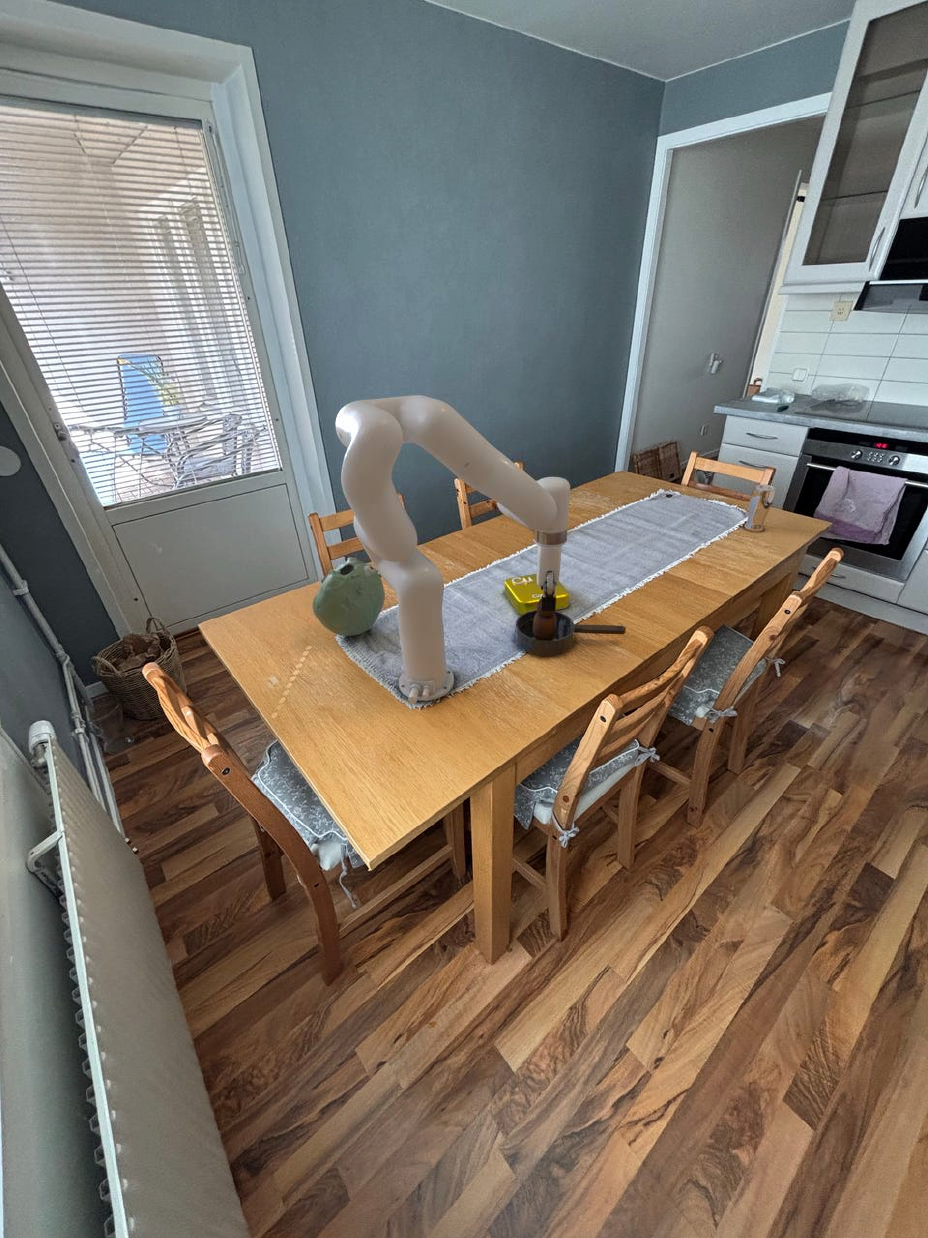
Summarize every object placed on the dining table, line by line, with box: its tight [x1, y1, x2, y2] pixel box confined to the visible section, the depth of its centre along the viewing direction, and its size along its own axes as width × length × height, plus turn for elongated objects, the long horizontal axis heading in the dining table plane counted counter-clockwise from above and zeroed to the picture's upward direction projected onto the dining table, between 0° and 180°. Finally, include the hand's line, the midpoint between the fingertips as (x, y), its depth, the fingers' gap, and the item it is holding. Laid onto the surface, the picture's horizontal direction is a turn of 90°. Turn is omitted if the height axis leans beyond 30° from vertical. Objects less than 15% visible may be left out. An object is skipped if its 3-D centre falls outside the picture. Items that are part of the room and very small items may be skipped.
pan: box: [514, 610, 575, 657], centre depth 127 cm, size 15×15×4 cm
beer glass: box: [743, 484, 777, 532], centre depth 177 cm, size 7×7×15 cm
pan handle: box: [574, 623, 627, 635], centre depth 125 cm, size 2×13×1 cm, turn 83°
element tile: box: [504, 573, 570, 616], centre depth 144 cm, size 15×15×5 cm
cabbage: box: [312, 556, 386, 637], centre depth 129 cm, size 16×19×20 cm
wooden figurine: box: [533, 599, 557, 641], centre depth 124 cm, size 7×6×15 cm
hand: (547, 599), depth 122 cm, fingers open, 9 cm apart
